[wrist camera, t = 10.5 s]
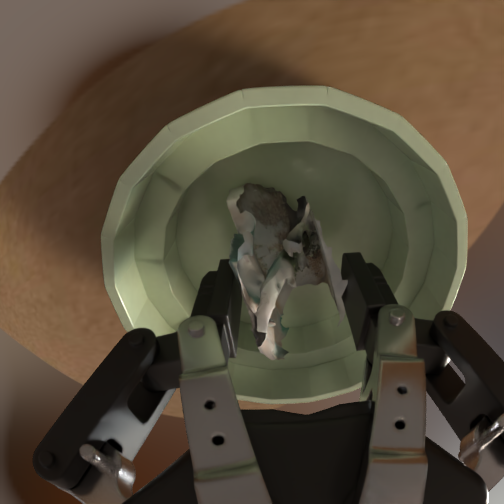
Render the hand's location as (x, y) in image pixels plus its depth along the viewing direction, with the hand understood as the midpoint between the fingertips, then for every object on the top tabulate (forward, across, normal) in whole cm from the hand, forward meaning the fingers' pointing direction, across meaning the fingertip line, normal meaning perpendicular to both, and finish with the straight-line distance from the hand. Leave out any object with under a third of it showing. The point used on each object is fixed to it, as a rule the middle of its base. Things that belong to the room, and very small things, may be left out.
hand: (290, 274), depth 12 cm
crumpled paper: (+3, 0, 0) cm, 3 cm away
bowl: (+3, 0, 0) cm, 3 cm away
